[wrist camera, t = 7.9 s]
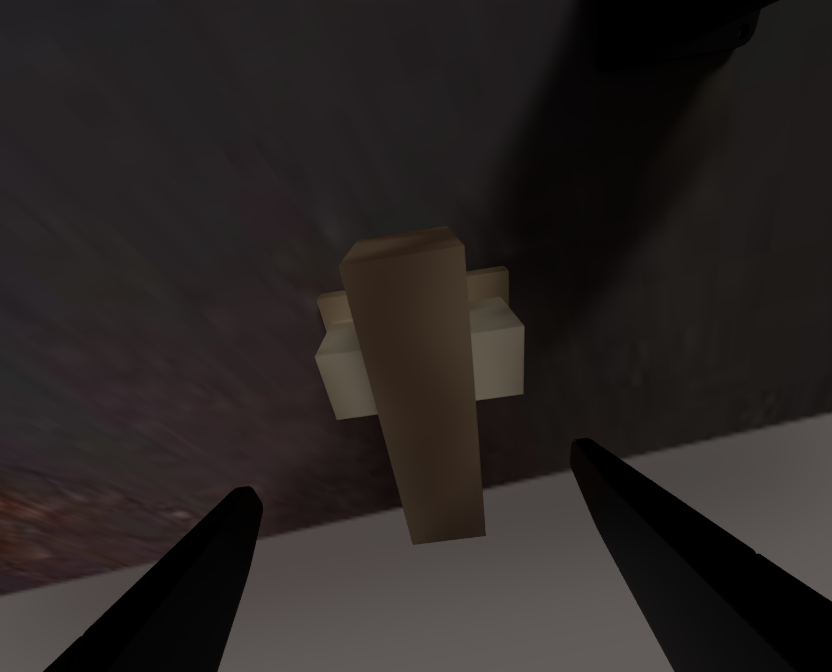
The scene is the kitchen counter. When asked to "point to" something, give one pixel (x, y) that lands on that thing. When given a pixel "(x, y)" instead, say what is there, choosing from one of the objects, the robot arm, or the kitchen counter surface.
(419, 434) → the brown wooden bar
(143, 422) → the kitchen counter surface
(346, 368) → the beige stepped block
